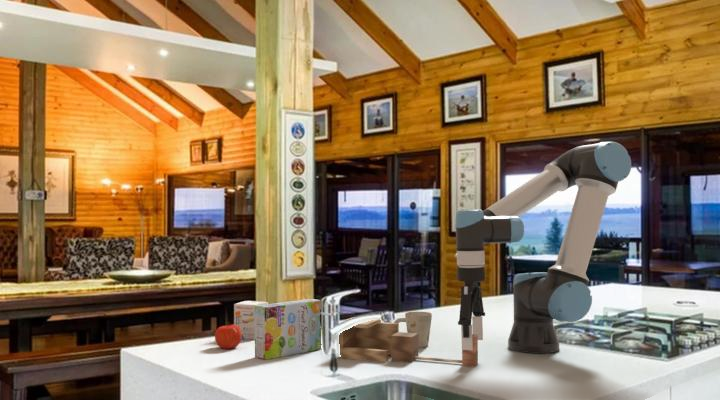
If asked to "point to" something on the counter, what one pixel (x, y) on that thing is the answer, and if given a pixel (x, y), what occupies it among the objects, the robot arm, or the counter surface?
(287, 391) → the counter surface
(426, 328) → the mug
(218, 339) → the apple
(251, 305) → the ink box
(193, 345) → the counter surface
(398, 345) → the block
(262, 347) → the snack box
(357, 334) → the cubby
